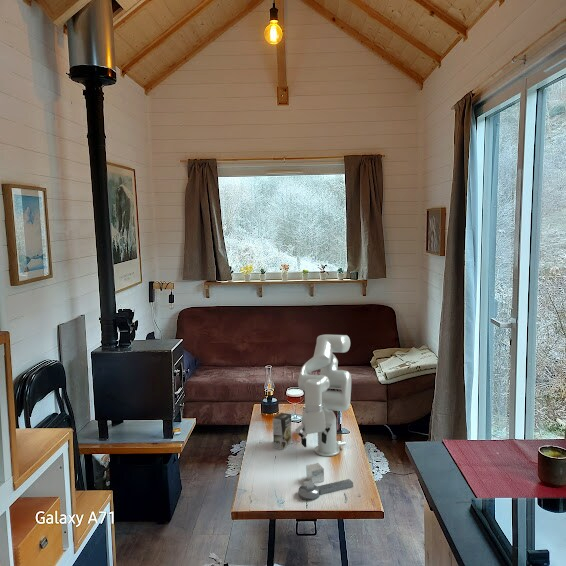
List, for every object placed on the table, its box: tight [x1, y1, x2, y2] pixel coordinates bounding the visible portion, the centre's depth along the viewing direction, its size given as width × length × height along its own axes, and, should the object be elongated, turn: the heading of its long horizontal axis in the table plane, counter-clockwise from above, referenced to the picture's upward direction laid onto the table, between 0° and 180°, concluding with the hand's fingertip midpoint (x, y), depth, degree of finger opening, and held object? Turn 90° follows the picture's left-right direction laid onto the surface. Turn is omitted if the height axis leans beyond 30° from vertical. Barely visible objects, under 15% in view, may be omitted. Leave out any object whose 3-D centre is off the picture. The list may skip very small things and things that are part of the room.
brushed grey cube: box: [305, 462, 325, 484], centre depth 241 cm, size 6×6×6 cm
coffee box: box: [272, 412, 293, 451], centre depth 277 cm, size 9×6×16 cm
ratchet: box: [298, 478, 354, 501], centre depth 230 cm, size 25×9×6 cm, turn 111°
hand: (314, 444), depth 238 cm, fingers open, 9 cm apart
